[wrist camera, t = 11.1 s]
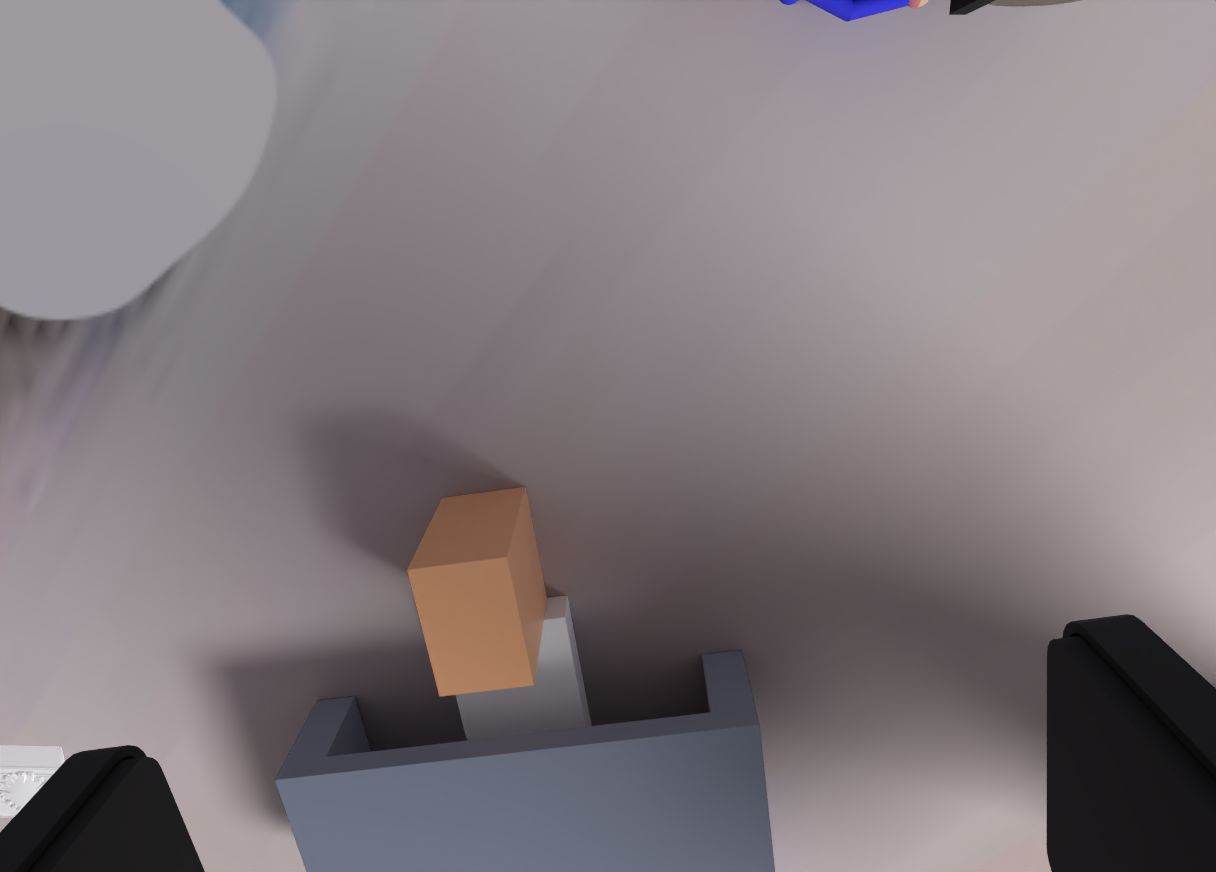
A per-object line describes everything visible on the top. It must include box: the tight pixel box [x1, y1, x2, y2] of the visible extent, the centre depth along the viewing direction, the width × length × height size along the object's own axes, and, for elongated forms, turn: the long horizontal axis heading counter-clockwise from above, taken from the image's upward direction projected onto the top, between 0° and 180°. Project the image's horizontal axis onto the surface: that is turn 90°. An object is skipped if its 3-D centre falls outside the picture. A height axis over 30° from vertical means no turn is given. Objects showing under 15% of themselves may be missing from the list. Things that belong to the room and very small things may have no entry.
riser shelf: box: [275, 650, 775, 872], centre depth 42 cm, size 22×10×6 cm, turn 98°
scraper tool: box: [407, 487, 592, 740], centre depth 40 cm, size 6×23×7 cm, turn 8°
